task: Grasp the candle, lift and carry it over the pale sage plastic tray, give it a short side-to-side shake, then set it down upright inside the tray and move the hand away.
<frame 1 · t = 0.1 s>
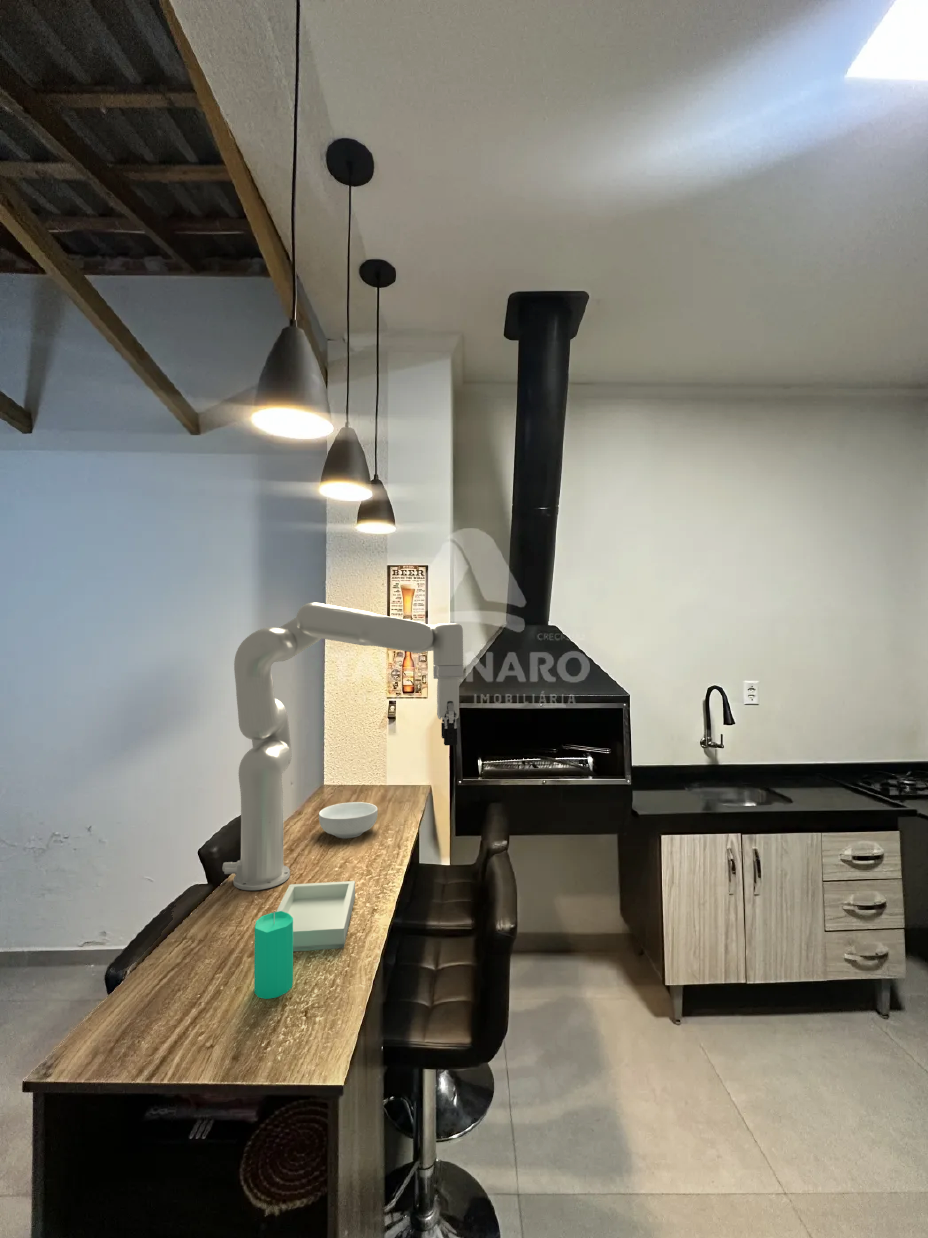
hand: (449, 741, 134), 31 cm above the bar counter, tool pointing down, fingers open, 9 cm apart
tray: (314, 922, 108), on the bar counter
cereal bowl: (348, 834, 158), on the bar counter
candle: (273, 988, 87), on the bar counter
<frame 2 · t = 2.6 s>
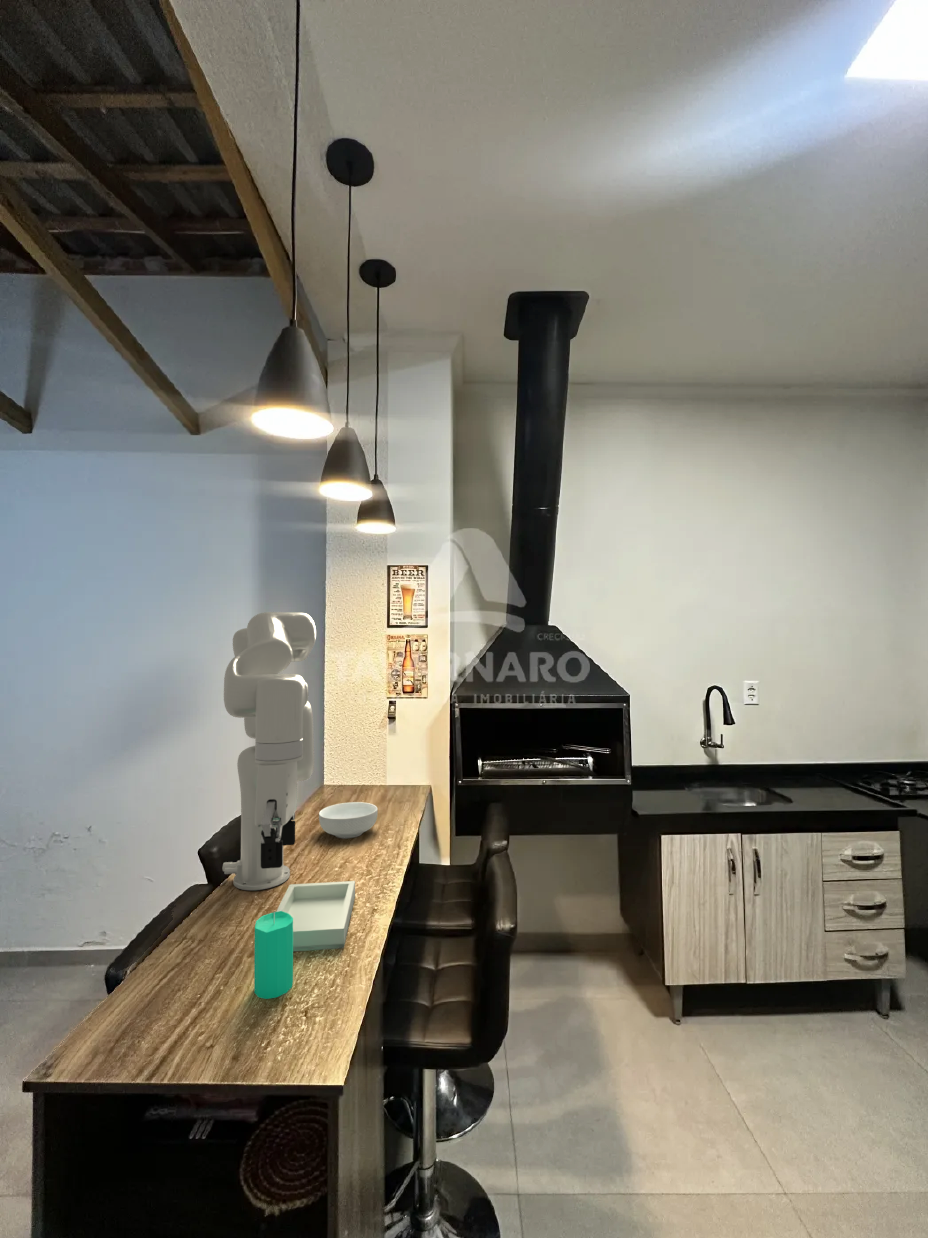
hand: (278, 855, 89), 21 cm above the bar counter, tool pointing down, fingers open, 9 cm apart
nothing on the bar counter moved.
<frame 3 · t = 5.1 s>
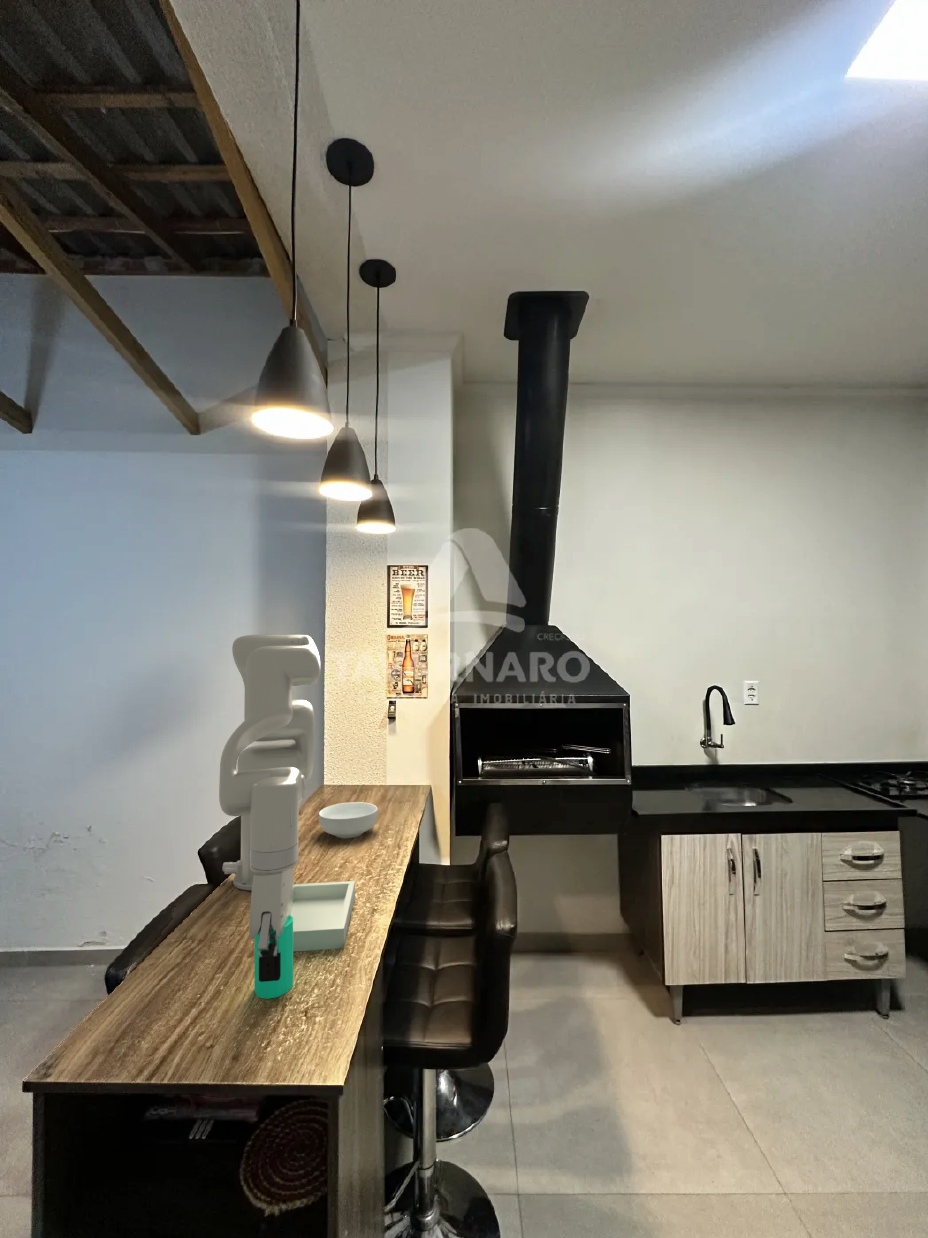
hand: (274, 968, 88), 3 cm above the bar counter, tool pointing down, fingers closed on candle, 4 cm apart
candle: (274, 988, 87), on the bar counter, touching gripper
everything else where it was.
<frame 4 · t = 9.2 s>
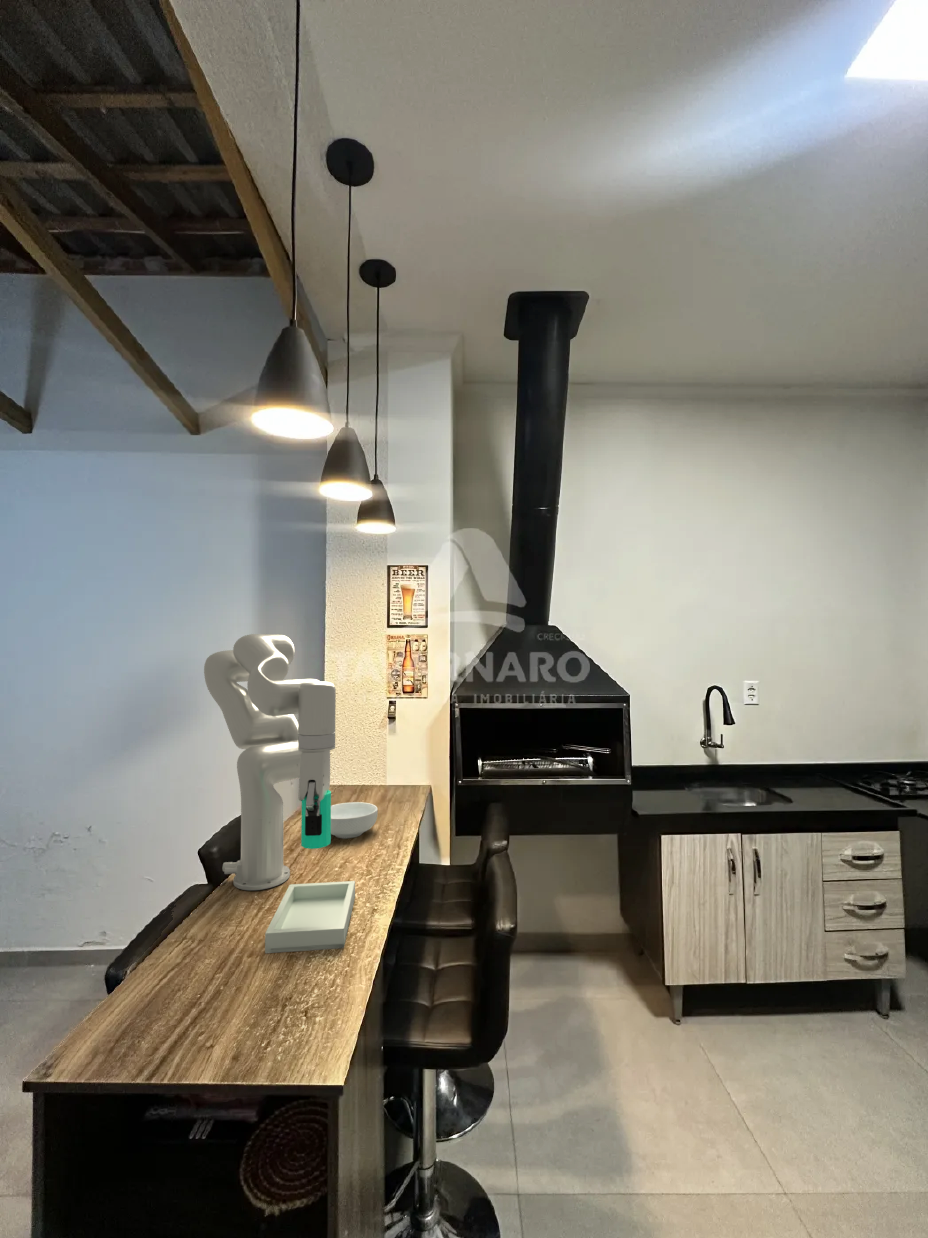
hand: (316, 829, 111), 17 cm above the bar counter, tool pointing down, fingers closed on candle, 4 cm apart
candle: (316, 844, 111), point 14 cm above the bar counter, touching gripper
everything else where it was.
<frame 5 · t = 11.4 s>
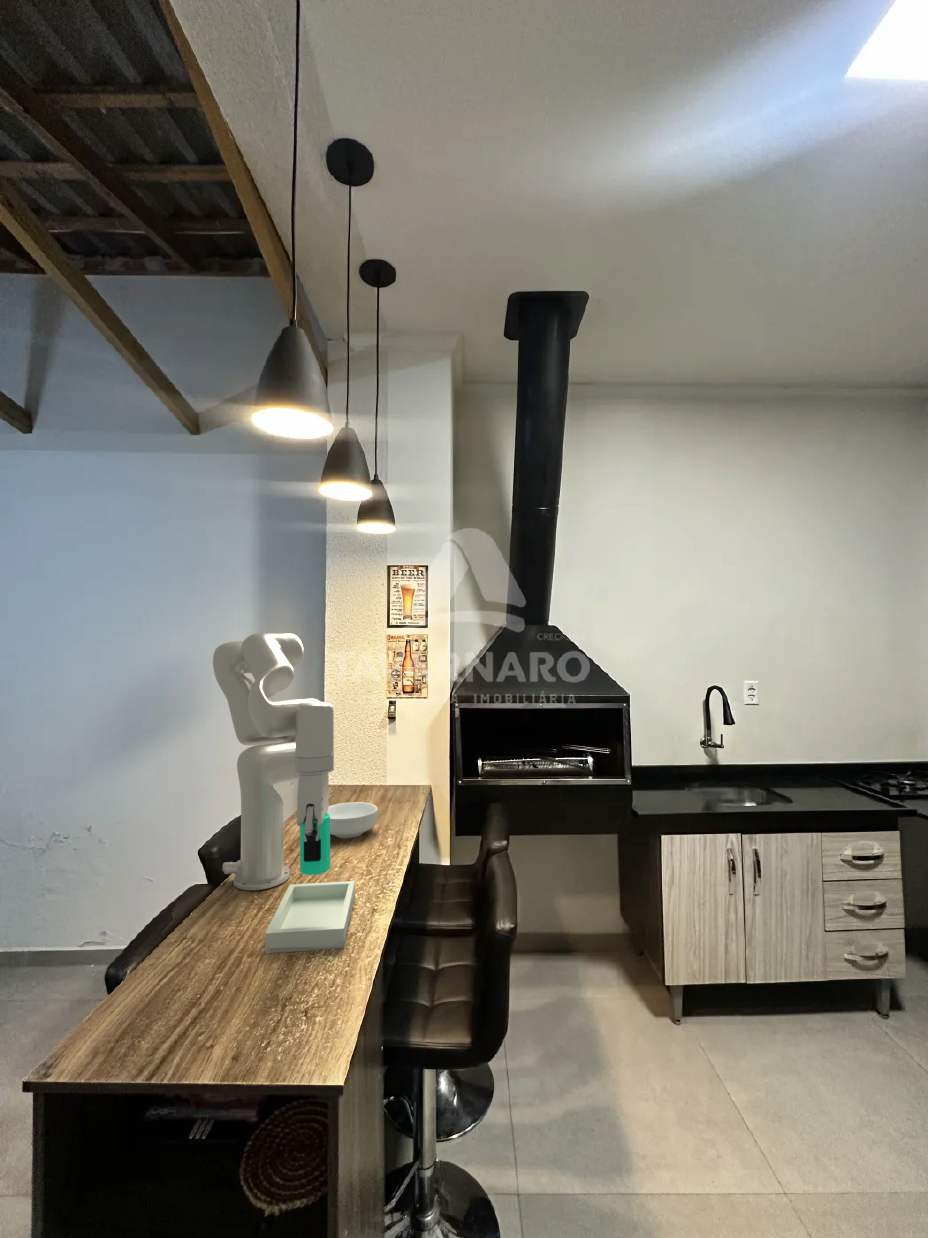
hand: (314, 854, 108), 13 cm above the bar counter, tool pointing down, fingers closed on candle, 4 cm apart
candle: (315, 870, 108), point 10 cm above the bar counter, touching gripper
everything else where it was.
when the fingers open (5 cm above the bar counter, at t = 13.2 s): candle drops 1 cm, resting on tray.
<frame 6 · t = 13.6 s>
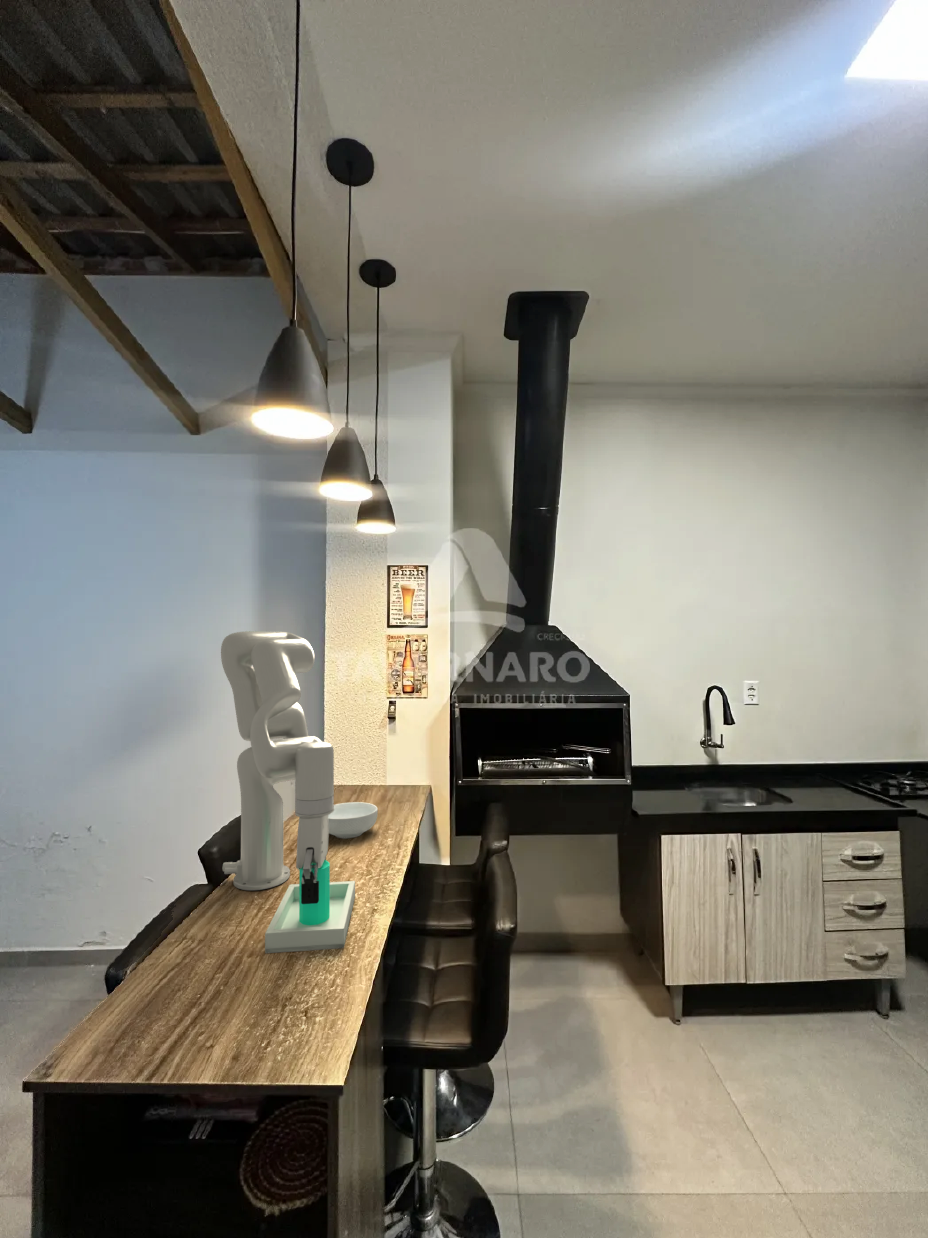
hand: (314, 891, 108), 6 cm above the bar counter, tool pointing down, fingers open, 9 cm apart
candle: (314, 918, 108), point 1 cm above the bar counter, touching tray
everything else where it was.
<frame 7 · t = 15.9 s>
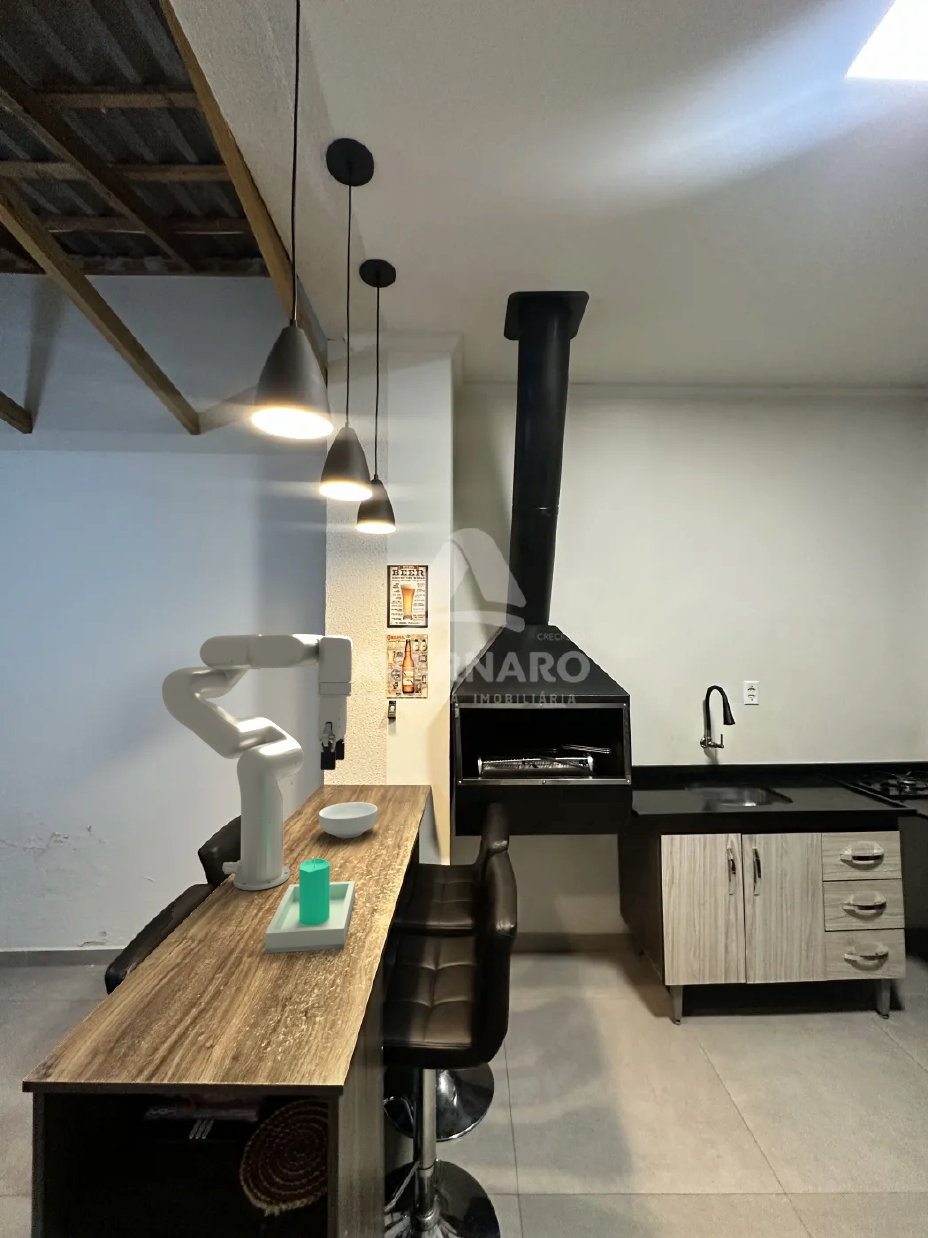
hand: (332, 764, 123), 28 cm above the bar counter, tool pointing down, fingers open, 9 cm apart
nothing on the bar counter moved.
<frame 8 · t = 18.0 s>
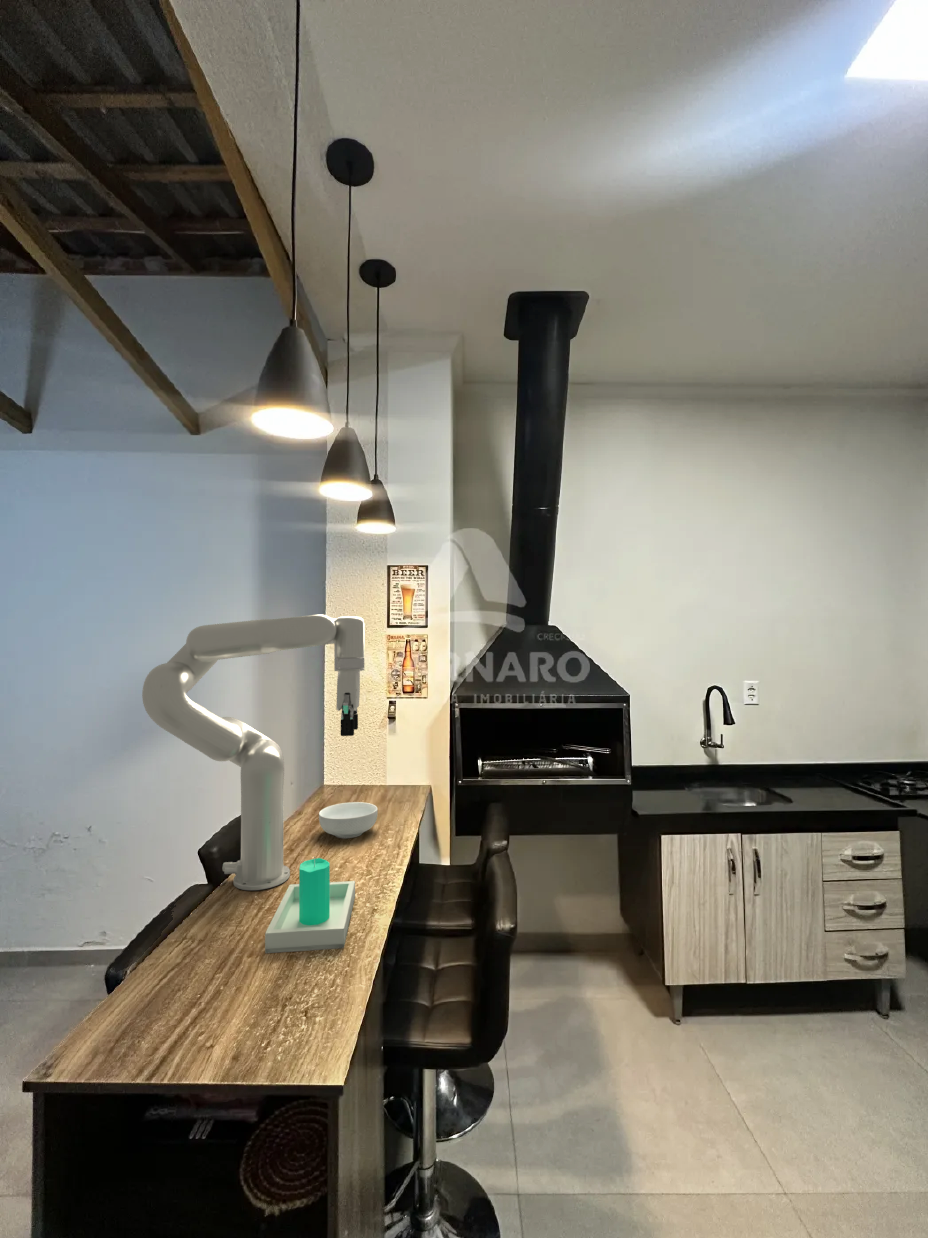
hand: (349, 732, 136), 33 cm above the bar counter, tool pointing down, fingers open, 9 cm apart
nothing on the bar counter moved.
at the end: candle inside the target area on the tray (0.3 cm from its centre), point 0.6 cm above the tray's base; candle tilted 0°; the gripper is holding nothing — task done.
